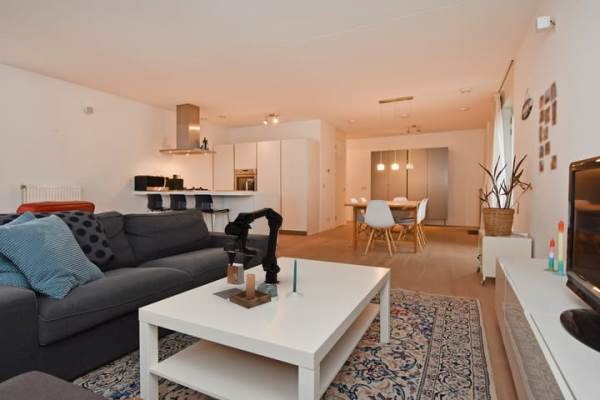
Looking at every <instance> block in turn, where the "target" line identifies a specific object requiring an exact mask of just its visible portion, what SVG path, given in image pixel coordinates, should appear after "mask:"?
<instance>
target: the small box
mask: <svg viewBox="0 0 600 400" xmlns="http://www.w3.org/2000/svg"><path fill="white" fill-rule="evenodd" d="M226 277H227V278H226V279H227V281H226V282H227V283H230V284H232V285H233V284H234V285H237V286H238V285H240V284H243V283H244V282H245V269H243V263H237V262H236V263H235V262H234V263H233V265H232V266H230V263H229V264H227V276H226Z"/></svg>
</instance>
